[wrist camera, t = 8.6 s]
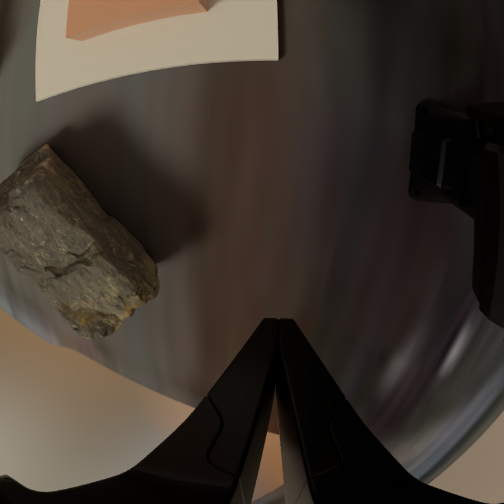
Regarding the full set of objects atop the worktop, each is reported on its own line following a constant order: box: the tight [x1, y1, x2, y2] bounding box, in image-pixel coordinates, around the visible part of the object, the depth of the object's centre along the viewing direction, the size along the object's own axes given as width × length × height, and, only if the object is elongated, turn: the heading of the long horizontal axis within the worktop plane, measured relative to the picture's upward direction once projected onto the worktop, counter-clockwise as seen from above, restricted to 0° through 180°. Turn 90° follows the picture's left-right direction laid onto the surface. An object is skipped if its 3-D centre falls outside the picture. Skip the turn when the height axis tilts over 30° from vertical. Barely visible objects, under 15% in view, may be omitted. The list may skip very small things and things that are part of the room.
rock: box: [0, 144, 160, 340], centre depth 18 cm, size 17×7×10 cm
